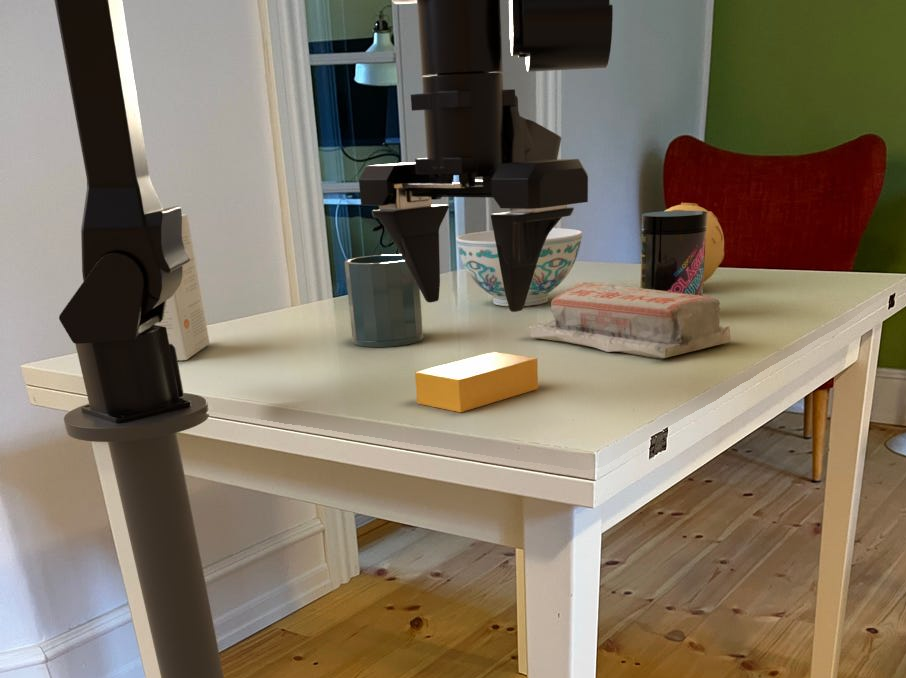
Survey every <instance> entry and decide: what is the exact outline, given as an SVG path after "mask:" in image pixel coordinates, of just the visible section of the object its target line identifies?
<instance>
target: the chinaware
mask: <svg viewBox="0 0 906 678" xmlns="http://www.w3.org/2000/svg"><path fill="white" fill-rule="evenodd" d="M582 237H583V232H582V231H581V230H578V229H574V228H561V227H553V229H552V230H551V231H550V232H549V234H548V236H547V238H546V240H545V243H544V245H543V248H542V250H541V253H540V256H539V259H538V262H537V265H536V268H535V272H534V275H533V278H532V282H531V285H530V288H529V291H528V295H527V298H526V301H525V304H524V307H529V306H538V305H542V304H546V303H547V302H548V301H549V294H550V293H551V292H552V291H554V290H556V288H557V287H559V286H560V284H562V282H563V281H565V279H566V278H567V276H568V275H569V274H570V272H571V270H572V268H573V267H574V264H575V262H576V260H577V257H578V254H579V252H580V248H581V247H580V246H581V243H582ZM455 240H456V245H457V250H458V253H459V257H460V259H461V262H462V264H463V266H464V268H465V270H466V272H467V273H468V275H469V277H471V279H472V280H473V282H474V283H475V284H476V285H477V286H479V287H480V289H482V290H483V291H485V292H486V293H488V294H489V295H490V296H492V302H493V304H494V305H496V306H500V307H509V305H508V302H507V298H506V295H505V290H504V285H503V280H502V274H501V269H500V263H499V258H498V252H497V247H496V242H495V237H494V231H493V230H486V231H478V232H470V233H464V234H461V235H458V236H456V238H455Z"/></svg>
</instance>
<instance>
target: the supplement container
mask: <svg viewBox="0 0 906 678" xmlns="http://www.w3.org/2000/svg"><path fill="white" fill-rule="evenodd" d="M706 226H707V212H705V211H665V210H662V211H653V212H652V211H651V212H645V213H642V214H641V229H640V231H641V247H640V248H641V249H640V284H639V288H642V289H651V290H660V291H669V292H676V293H684V294H691V295H701V296H704V283H703V278H704V260H705V242H706V230H707V227H706Z"/></svg>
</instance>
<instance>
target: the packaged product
mask: <svg viewBox="0 0 906 678" xmlns="http://www.w3.org/2000/svg"><path fill="white" fill-rule="evenodd" d="M720 304H721V303H720V300H719V299H718V298H716V297H713V296H708V295H707V296H706V295H703V296H701V295H691V294H684V293H676V292H669V291H660V290H651V289H642V288H640V287H635V286H633V287H632V286H624V285H616V284H609V283H608V284H607V283H601V282H581V283H577V284H575V285H573V287H570V288H569V289H567V290H566V291H564V292H562V293H559V294H558V295H557V296H555V297H554V298H553V299H552V300H551V301H550V310H551V312H552V314H553V317H554V320H551V321H547V322H542V323H537V325H535V326H534V325H529V326H528V329H529V334H530V335H529V336H530V338H534V339H541V340H549V341H556V342H563V343H569V344H574V345H579V346H584V347H589V348H594V349H598V350H600V351H603V352H606V353H608V352H618V353H624V354H629V355H636V356H642V357H647V358H654V359H658V360H659V359H661V360H662V359H667V358H670V357H675V356H678V355H683V354H686V353H691V352H696V351H701V350H705V349H708V348H711V347H715V346H719V345H723V344H727V343H730V342H731V337H732V336H731V328H730V326H726V327H725V326H721V325H720V316H719V314H720V312H721V307H720Z"/></svg>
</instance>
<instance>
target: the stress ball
mask: <svg viewBox="0 0 906 678" xmlns="http://www.w3.org/2000/svg"><path fill="white" fill-rule="evenodd" d="M664 211H705V212H707V226H706V227H707V230H706V242H705V260H704V278H703V284H704V283H705V282H706V281H708V280H709V279H710V278H711V277H712V276H713V275H714V274H715V273H716V271H717V269H718V268H719V266H720V264H722V262H723V261H724V258H725V253H726V252H725V237H724V232H723V228H722V226H721V224H720V223H719V219H718V217H717V216H716V215H715V214H714V212H712V210H711V211H710V210H709V211H708V209H705V208H704V207H701V206H699V204H698V203H695V202H693V203H691V202H681V203H680V204H677V205H674V206H671V207H669V208H667V209H665V210H664Z"/></svg>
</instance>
